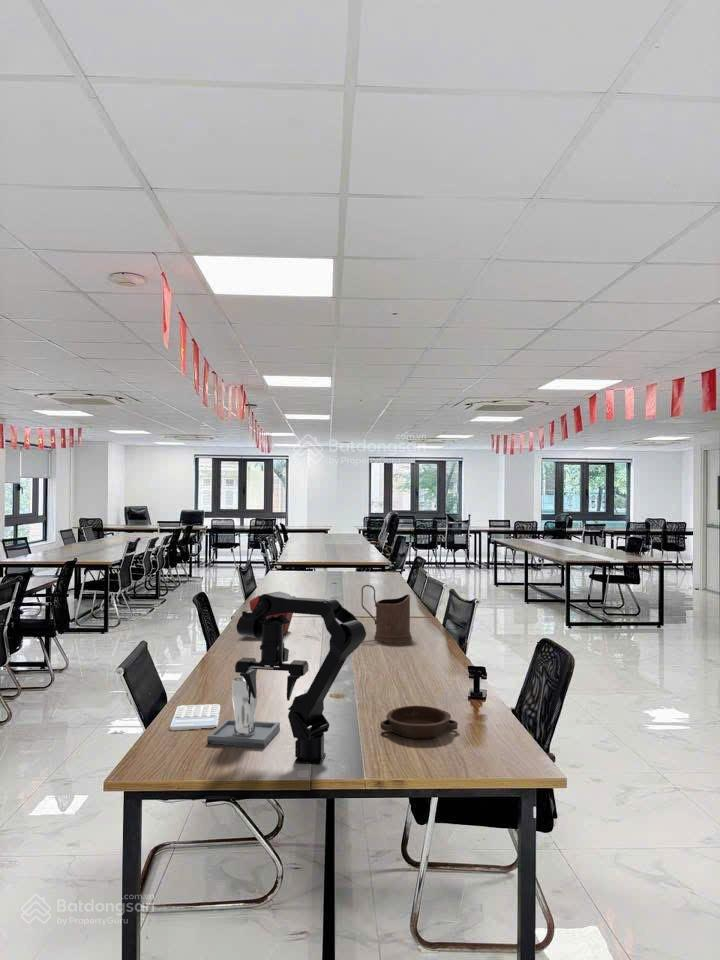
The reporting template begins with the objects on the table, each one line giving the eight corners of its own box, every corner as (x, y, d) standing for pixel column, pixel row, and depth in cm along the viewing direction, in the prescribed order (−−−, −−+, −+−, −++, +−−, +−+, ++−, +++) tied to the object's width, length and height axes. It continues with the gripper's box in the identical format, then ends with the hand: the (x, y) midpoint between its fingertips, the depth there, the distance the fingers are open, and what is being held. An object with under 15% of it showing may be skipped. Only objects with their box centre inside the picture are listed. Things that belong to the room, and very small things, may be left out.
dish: (377, 722, 204) (377, 705, 204) (450, 721, 206) (450, 704, 206) (383, 744, 187) (383, 725, 187) (464, 741, 189) (464, 723, 189)
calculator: (220, 708, 218) (220, 702, 218) (217, 730, 198) (217, 723, 198) (177, 710, 216) (177, 704, 216) (169, 732, 196) (169, 725, 196)
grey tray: (279, 730, 197) (279, 722, 197) (264, 748, 183) (264, 739, 183) (226, 726, 199) (226, 719, 200) (207, 744, 186) (207, 735, 186)
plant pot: (296, 629, 343) (296, 595, 343) (288, 637, 324) (288, 601, 324) (258, 628, 345) (258, 595, 345) (248, 636, 326) (248, 601, 326)
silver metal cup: (233, 728, 194) (233, 675, 195) (258, 728, 195) (258, 675, 195) (230, 737, 187) (230, 682, 188) (256, 737, 188) (256, 681, 188)
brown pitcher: (414, 642, 314) (414, 587, 315) (361, 642, 314) (361, 587, 314) (410, 634, 333) (410, 582, 333) (361, 634, 332) (361, 582, 333)
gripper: (313, 635, 189) (313, 692, 189) (248, 632, 193) (248, 688, 192) (303, 644, 178) (302, 704, 178) (234, 640, 182) (234, 700, 181)
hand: (271, 699), depth 183 cm, fingers open, 9 cm apart
